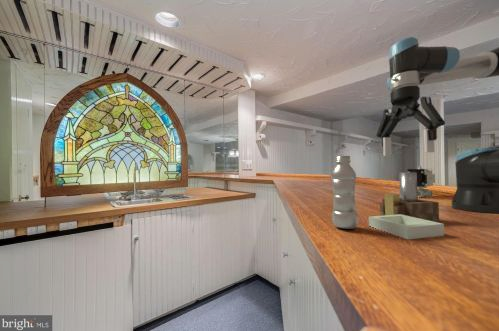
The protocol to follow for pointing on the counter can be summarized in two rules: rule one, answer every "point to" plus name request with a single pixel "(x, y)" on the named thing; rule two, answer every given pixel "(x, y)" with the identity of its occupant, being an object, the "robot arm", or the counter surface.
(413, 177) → the grey metal peg
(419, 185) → the ball valve
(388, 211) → the brass block
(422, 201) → the socket block
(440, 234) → the tray
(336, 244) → the counter surface
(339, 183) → the plastic bottle
